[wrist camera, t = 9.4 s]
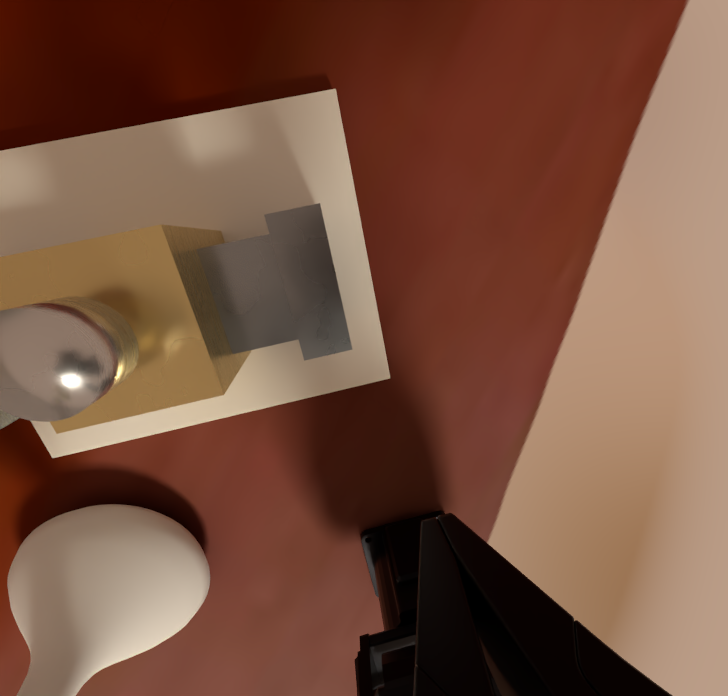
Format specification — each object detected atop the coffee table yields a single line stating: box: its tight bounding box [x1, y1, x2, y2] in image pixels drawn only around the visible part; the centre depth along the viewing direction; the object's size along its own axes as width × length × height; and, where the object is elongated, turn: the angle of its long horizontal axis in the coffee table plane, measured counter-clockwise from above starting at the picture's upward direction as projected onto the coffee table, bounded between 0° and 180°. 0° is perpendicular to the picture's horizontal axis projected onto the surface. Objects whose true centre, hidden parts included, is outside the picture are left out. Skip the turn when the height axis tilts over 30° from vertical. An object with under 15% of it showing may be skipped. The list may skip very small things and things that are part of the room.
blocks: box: [0, 203, 353, 434], centre depth 15 cm, size 6×16×7 cm, turn 101°
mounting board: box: [0, 89, 390, 458], centre depth 18 cm, size 15×20×1 cm
